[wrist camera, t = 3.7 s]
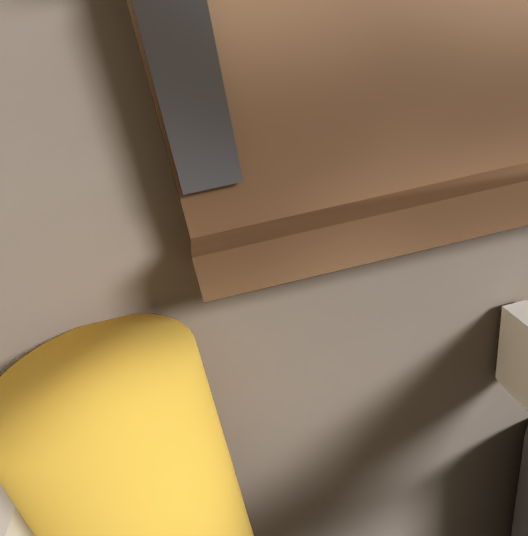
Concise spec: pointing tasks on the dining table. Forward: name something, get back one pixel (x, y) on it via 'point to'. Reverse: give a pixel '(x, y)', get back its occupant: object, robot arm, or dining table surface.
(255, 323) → the dining table surface
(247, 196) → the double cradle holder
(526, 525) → the gray cylinder
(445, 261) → the dining table surface
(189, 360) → the yellow foam roll
